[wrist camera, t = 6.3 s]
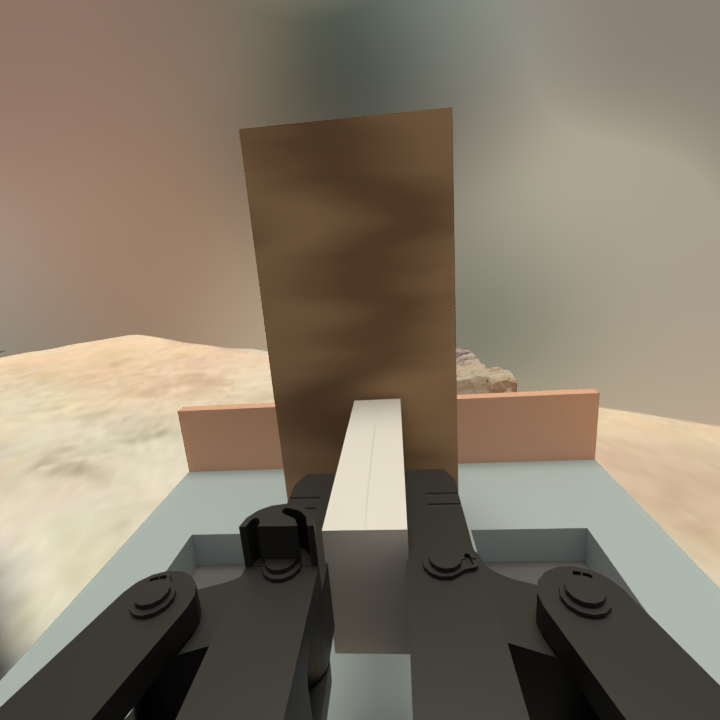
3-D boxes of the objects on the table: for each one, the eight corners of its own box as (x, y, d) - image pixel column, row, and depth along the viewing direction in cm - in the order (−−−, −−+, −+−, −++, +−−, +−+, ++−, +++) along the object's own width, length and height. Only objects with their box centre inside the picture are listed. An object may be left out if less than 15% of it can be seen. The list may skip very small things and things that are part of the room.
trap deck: (-124, 909, 10) (-231, 721, 9) (199, 494, 27) (183, 406, 26) (1005, 985, 8) (1127, 755, 6) (586, 484, 25) (593, 388, 24)
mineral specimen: (561, 444, 30) (566, 361, 29) (490, 474, 27) (490, 382, 26) (445, 398, 41) (444, 335, 40) (384, 416, 38) (380, 349, 36)
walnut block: (299, 593, 16) (239, 129, 12) (324, 501, 22) (288, 168, 18) (460, 592, 15) (452, 107, 11) (441, 499, 21) (431, 154, 17)
